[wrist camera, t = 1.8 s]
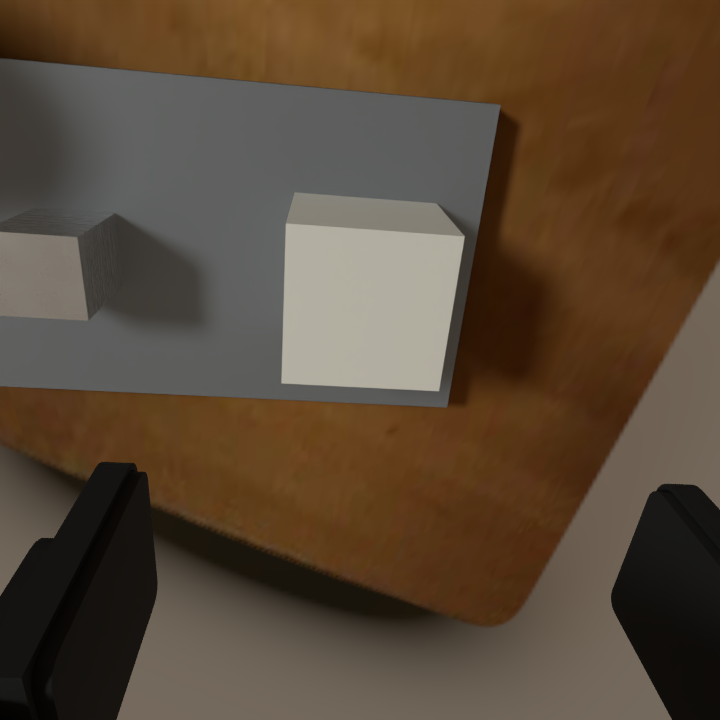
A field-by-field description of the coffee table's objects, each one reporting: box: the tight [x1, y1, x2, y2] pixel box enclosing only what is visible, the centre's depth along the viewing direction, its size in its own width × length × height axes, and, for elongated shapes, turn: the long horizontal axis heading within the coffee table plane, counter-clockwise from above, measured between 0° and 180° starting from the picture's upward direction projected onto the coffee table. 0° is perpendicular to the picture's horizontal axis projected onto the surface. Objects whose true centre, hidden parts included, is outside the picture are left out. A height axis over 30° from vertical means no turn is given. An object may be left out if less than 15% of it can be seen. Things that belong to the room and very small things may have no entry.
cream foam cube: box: [281, 192, 465, 391], centre depth 23 cm, size 6×6×6 cm
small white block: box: [0, 207, 122, 321], centre depth 23 cm, size 3×3×4 cm
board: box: [0, 58, 501, 407], centre depth 26 cm, size 22×14×2 cm, turn 85°
